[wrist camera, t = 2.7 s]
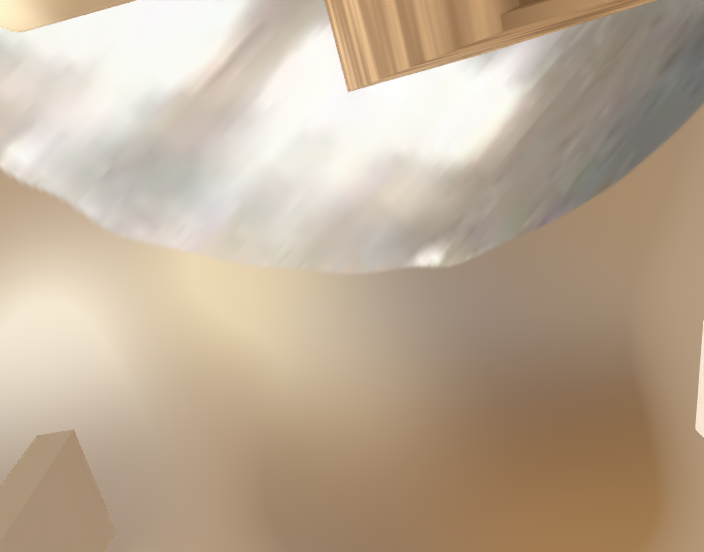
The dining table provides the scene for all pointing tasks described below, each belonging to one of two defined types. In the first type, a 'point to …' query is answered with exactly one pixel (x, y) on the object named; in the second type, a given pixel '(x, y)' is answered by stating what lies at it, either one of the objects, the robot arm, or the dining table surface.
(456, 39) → the tall wooden crate
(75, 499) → the robot arm
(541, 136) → the dining table surface
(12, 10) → the cream rounded cylinder
